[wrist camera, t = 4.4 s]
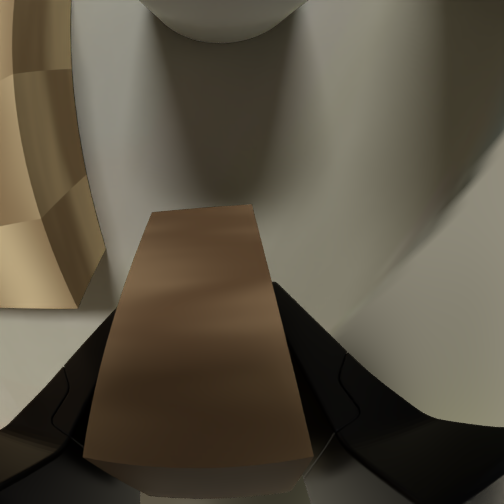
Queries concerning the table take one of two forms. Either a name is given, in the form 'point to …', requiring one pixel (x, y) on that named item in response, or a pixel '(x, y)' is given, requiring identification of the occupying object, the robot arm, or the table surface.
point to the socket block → (42, 163)
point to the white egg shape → (221, 17)
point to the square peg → (199, 367)
